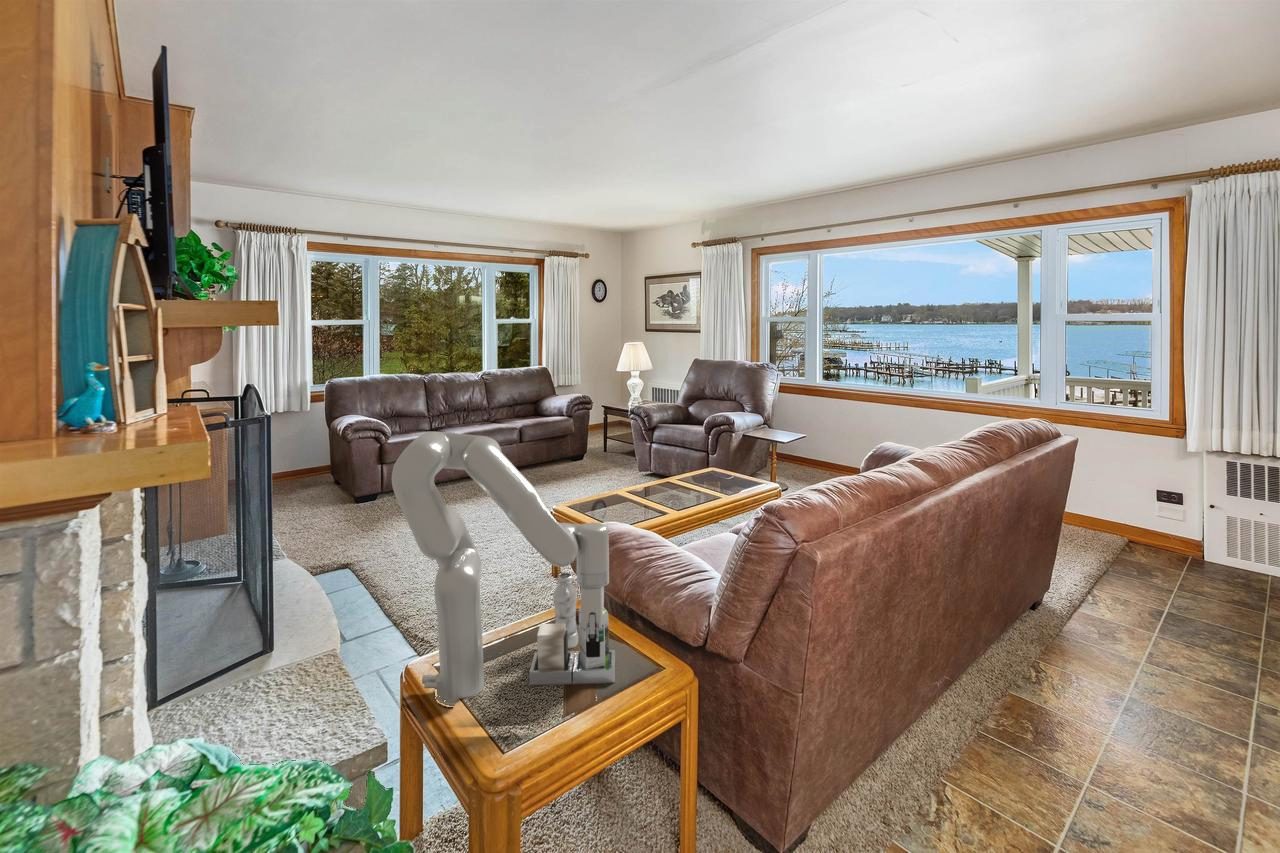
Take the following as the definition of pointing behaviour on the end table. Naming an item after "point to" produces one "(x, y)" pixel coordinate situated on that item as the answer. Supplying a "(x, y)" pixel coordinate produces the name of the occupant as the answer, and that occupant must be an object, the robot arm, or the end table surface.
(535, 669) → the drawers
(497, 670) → the end table surface
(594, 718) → the end table surface
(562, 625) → the beige curved-top block
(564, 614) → the plastic bottle
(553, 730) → the end table surface
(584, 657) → the syrup box
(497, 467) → the robot arm
